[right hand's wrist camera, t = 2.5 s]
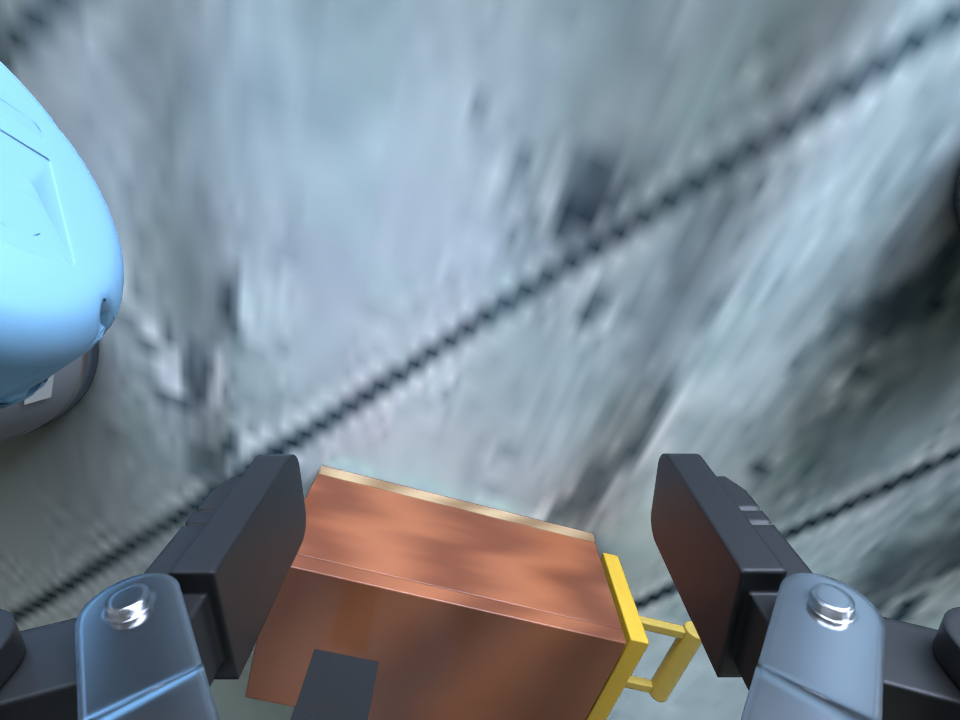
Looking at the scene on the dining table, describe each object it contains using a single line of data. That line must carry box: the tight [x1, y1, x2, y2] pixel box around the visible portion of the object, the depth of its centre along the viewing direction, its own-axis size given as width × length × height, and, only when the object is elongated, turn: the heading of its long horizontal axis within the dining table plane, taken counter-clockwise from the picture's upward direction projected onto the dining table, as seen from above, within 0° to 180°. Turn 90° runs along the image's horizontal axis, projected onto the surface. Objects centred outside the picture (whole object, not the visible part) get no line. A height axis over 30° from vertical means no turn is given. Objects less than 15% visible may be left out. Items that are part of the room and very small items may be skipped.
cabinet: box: [245, 466, 626, 720], centre depth 34 cm, size 20×10×9 cm, turn 73°
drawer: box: [585, 553, 702, 720], centre depth 35 cm, size 25×9×7 cm, turn 73°
